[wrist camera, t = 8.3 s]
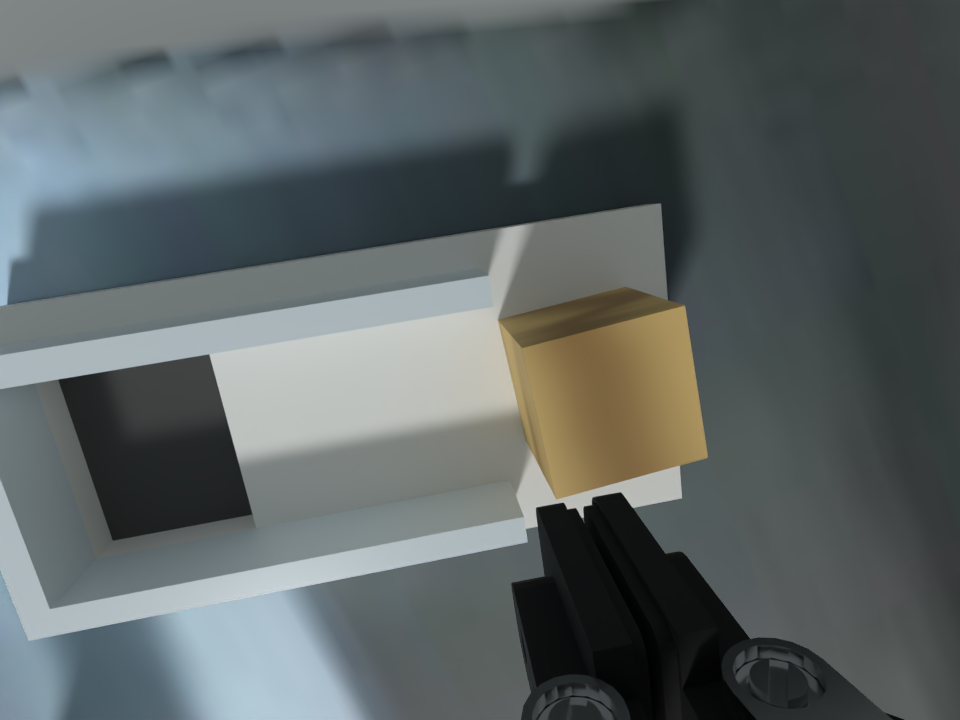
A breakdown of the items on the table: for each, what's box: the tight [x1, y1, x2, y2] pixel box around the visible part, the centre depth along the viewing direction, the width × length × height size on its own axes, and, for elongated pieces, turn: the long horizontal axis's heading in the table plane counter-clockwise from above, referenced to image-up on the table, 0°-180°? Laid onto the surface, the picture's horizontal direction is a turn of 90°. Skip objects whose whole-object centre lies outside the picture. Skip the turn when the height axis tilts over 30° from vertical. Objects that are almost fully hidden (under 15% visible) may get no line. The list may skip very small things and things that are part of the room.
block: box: [498, 287, 708, 500], centre depth 21 cm, size 5×5×5 cm
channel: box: [0, 203, 682, 641], centre depth 22 cm, size 24×12×4 cm, turn 98°
